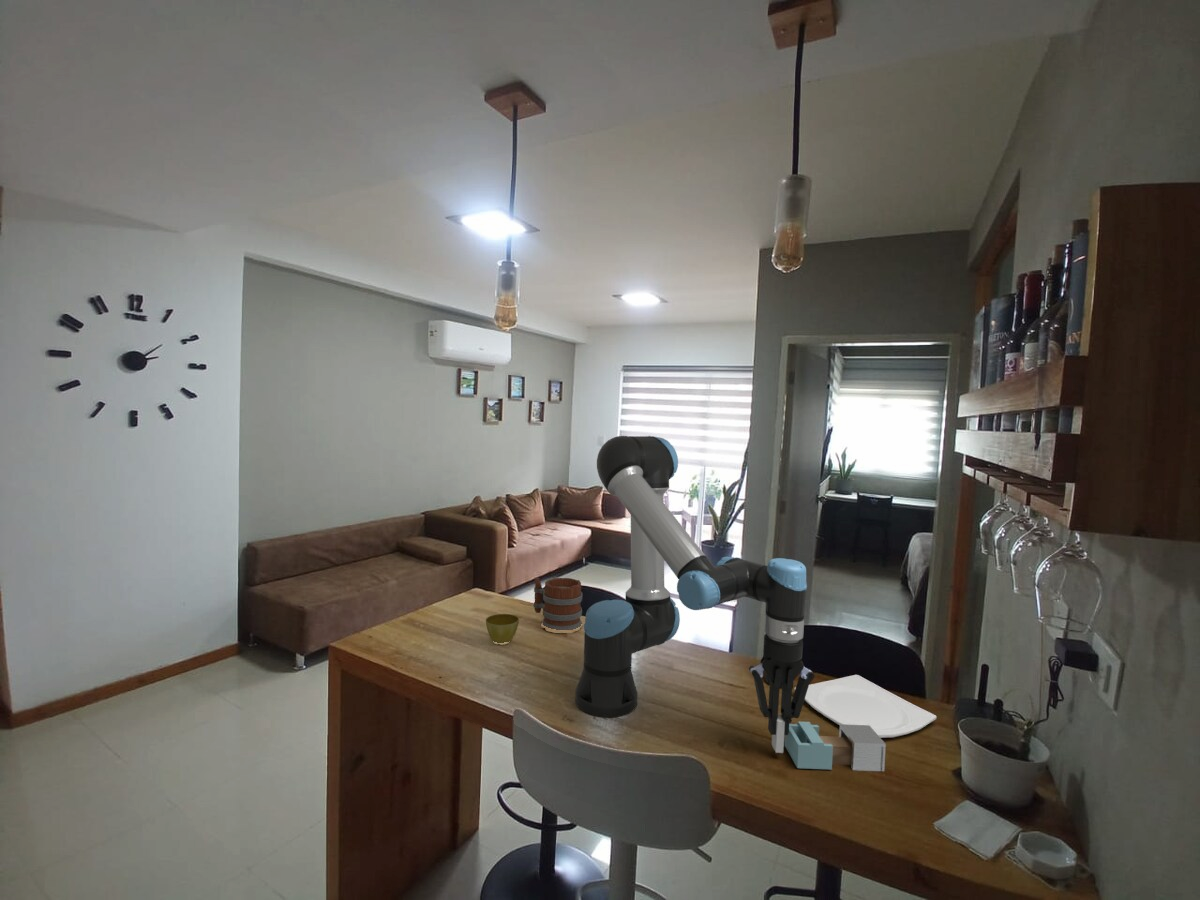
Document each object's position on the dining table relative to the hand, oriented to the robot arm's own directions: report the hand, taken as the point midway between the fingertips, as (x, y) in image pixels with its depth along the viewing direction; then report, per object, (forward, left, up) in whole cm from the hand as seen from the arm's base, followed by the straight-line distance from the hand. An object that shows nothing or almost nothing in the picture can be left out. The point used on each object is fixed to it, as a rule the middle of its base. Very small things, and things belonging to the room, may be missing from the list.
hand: (777, 748), depth 109 cm
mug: (-52, +69, -2) cm, 86 cm away
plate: (+27, +20, -2) cm, 33 cm away
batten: (+13, 0, -2) cm, 13 cm away
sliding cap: (+7, 0, -2) cm, 7 cm away
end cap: (+17, 0, -2) cm, 17 cm away
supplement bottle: (+11, +33, -2) cm, 34 cm away
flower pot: (-67, +53, -2) cm, 85 cm away
